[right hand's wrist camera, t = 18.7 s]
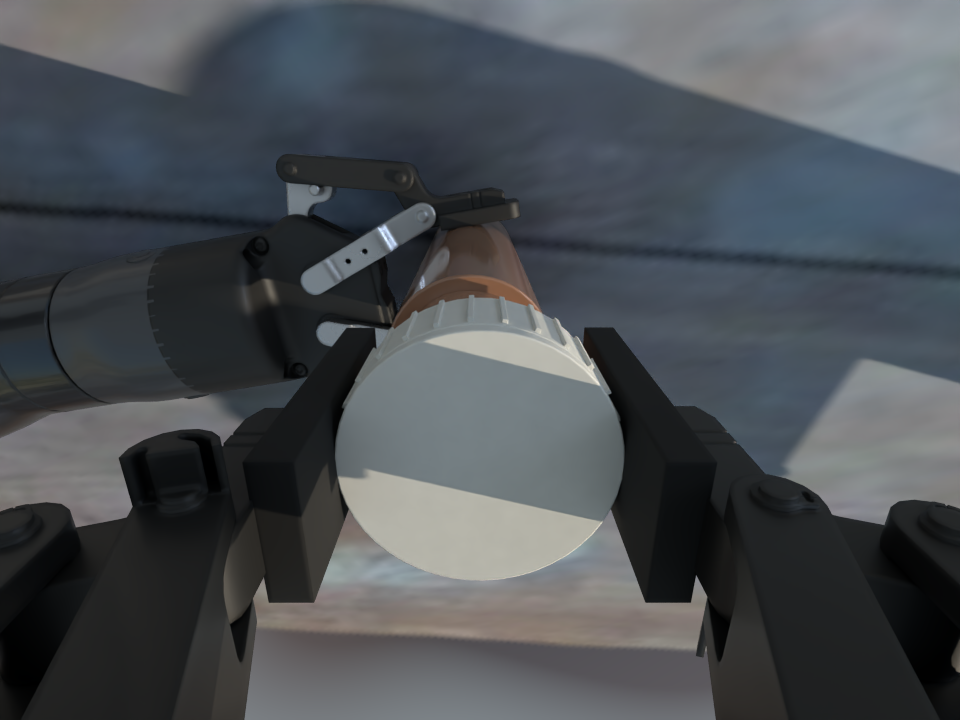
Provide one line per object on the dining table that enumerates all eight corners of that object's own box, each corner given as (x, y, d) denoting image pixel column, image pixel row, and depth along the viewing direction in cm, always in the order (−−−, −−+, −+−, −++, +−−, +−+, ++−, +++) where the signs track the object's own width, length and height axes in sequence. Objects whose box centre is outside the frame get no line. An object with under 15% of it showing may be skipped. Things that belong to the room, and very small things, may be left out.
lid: (589, 273, 11) (617, 300, 9) (612, 497, 13) (638, 563, 11) (327, 317, 11) (291, 354, 9) (388, 528, 13) (371, 600, 11)
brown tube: (472, 307, 33) (470, 499, 15) (414, 252, 31) (334, 387, 13) (529, 252, 31) (604, 385, 13) (471, 192, 30) (468, 250, 12)
